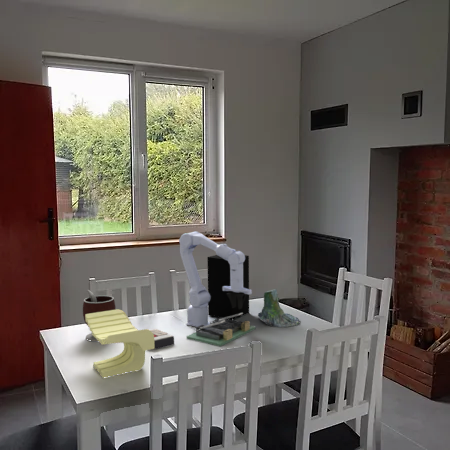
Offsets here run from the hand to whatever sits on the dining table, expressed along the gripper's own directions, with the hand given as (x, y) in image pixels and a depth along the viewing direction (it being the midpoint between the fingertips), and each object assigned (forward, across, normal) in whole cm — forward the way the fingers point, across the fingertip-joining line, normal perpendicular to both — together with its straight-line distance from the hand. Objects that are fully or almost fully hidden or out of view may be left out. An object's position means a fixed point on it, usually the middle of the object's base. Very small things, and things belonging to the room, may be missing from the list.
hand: (237, 308), depth 220 cm
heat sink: (+9, +3, +7) cm, 12 cm away
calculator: (+11, +21, +32) cm, 40 cm away
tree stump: (+11, -9, -22) cm, 26 cm away
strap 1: (+5, +4, +14) cm, 15 cm away
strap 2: (+5, +4, 0) cm, 6 cm away
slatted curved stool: (+11, +13, +60) cm, 62 cm away
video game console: (+11, +18, -19) cm, 28 cm away
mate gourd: (+11, +46, +40) cm, 62 cm away
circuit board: (+10, +4, +7) cm, 13 cm away
